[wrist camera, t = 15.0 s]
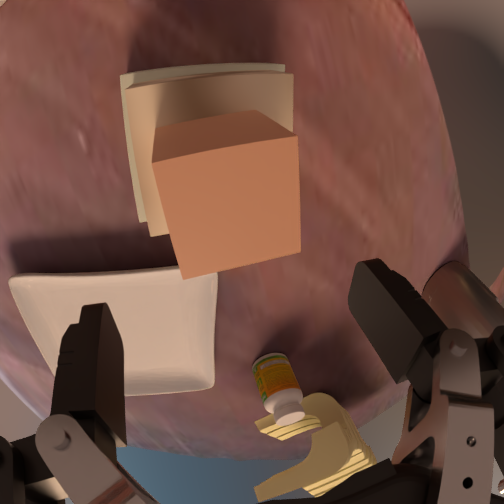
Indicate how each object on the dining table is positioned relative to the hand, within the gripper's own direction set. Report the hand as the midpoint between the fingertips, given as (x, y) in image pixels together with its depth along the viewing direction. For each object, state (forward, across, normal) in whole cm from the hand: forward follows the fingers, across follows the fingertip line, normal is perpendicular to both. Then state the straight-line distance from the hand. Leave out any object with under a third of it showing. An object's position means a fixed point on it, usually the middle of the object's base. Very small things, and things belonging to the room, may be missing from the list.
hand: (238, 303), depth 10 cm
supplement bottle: (+19, -8, +32) cm, 38 cm away
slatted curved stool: (+19, -16, +54) cm, 59 cm away
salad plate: (+19, +10, +20) cm, 30 cm away
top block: (+15, -1, -1) cm, 15 cm away
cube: (+10, -1, -1) cm, 10 cm away
